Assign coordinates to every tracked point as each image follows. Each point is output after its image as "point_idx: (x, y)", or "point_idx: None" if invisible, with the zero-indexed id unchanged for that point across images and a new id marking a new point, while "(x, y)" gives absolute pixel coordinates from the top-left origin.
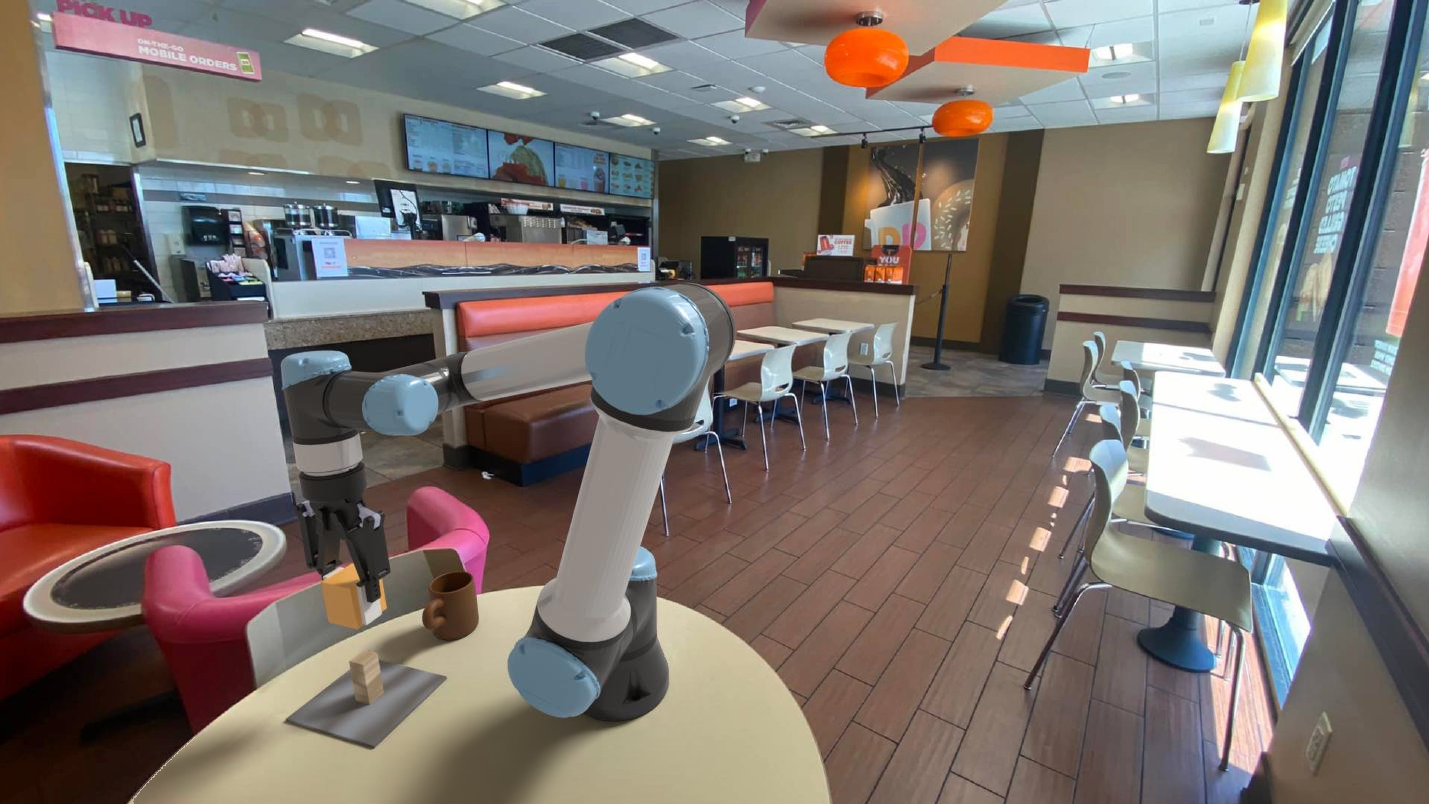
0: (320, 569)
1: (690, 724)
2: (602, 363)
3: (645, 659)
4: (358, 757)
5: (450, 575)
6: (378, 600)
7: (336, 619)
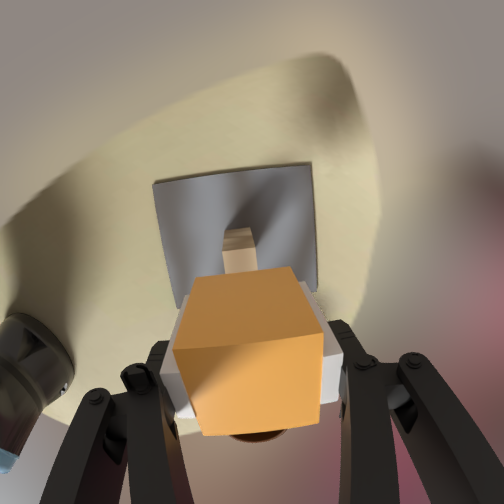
0: (363, 370)
1: None
2: None
3: None
4: (158, 165)
5: (278, 431)
6: None
7: (261, 275)
